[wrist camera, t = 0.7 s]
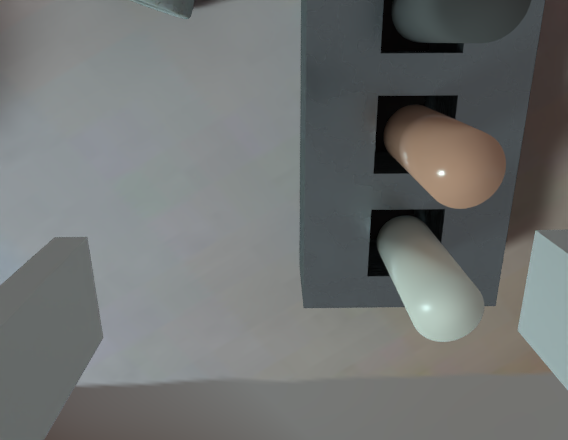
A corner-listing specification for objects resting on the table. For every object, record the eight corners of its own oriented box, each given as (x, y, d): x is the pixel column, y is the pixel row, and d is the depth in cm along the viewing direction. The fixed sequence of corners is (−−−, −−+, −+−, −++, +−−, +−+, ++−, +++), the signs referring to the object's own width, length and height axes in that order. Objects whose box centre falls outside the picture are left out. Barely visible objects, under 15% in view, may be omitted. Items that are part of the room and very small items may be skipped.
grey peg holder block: (299, 266, 42) (303, 308, 36) (301, -65, 34) (307, -90, 27) (461, 264, 42) (495, 305, 36) (504, -65, 34) (559, -91, 27)
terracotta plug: (381, 163, 33) (421, 208, 24) (385, 104, 31) (428, 130, 22) (438, 162, 33) (499, 208, 24) (444, 104, 31) (511, 129, 22)
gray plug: (389, 42, 30) (437, 43, 21) (393, -27, 29) (446, -57, 20) (451, 42, 30) (525, 43, 21) (458, -27, 29) (540, -58, 20)
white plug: (374, 265, 35) (408, 342, 26) (378, 215, 34) (414, 278, 25) (427, 265, 35) (479, 341, 26) (433, 215, 34) (489, 277, 25)
